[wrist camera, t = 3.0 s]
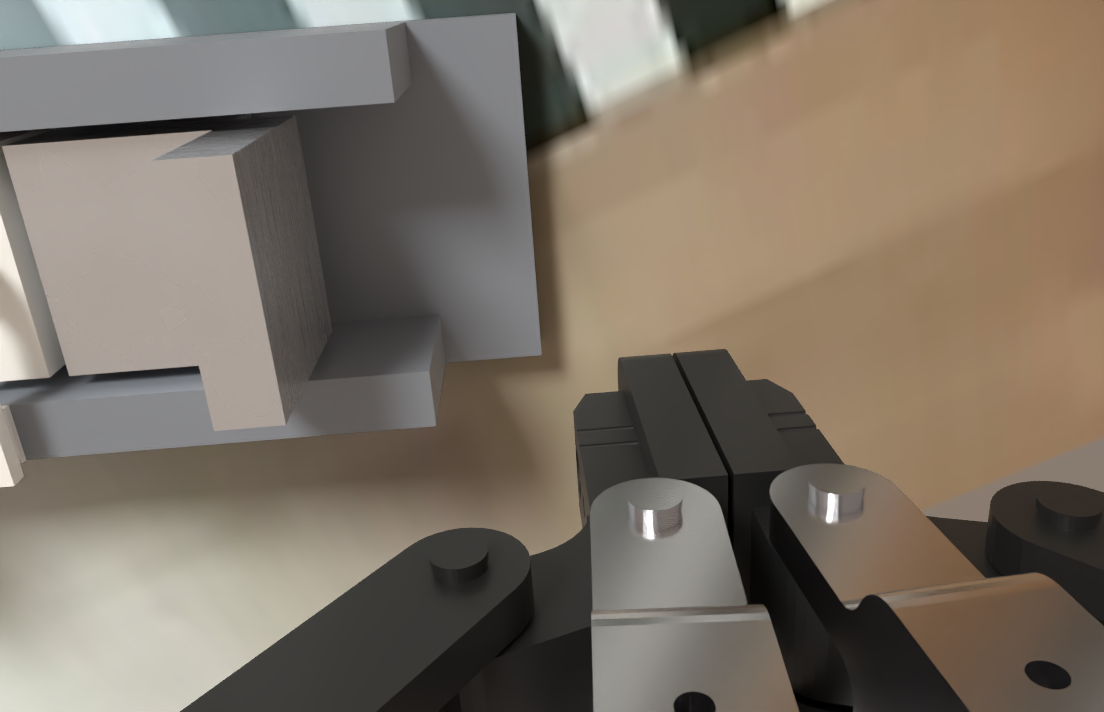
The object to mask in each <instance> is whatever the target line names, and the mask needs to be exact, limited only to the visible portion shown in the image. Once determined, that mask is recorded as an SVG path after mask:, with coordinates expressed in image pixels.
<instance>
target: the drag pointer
mask: <svg viewBox="0 0 1104 712" xmlns="http://www.w3.org/2000/svg"><path fill="white" fill-rule="evenodd" d="M50 130H51V128H47V129H34V130H21V131H7V132H0V382H1V381H14V380H26V379H39V378H50V377H51V376H52V375H54V374H55V373H56V372H57V371H58V370H59V369H61V368H62V367H63V366H64V365H65V360H64V357H63V353H62V350H61V346H60V343H59V340H58V336H57V333H56V329H55V326H54V323H53V319H52V316H51V312H50V309H49V306H48V302H47V299H46V295H45V292H44V289H43V285H42V282H41V278H40V275H39V271H38V268H37V265H36V261H35V258H34V254H33V251H32V248H31V244H30V241H29V237H28V234H27V231H26V227H25V224H24V220H23V217H22V213H21V210H20V207H19V203H18V200H17V196H16V193H15V190H14V186H13V183H12V179H11V176H10V173H9V169H8V166H7V162H6V159H5V155H4V152H3V149H2V146H3V145H7V144H10V143H13V142H16V141H19V140H22V139H25V138H28V137H32V136H35V135H38V134H41V133H44V132H47V131H50ZM23 477H24V475H23V471H22V468H21V465H20V462H19V459H18V456H17V453H16V450H15V447H14V444H13V441H12V438H11V435H10V432H9V429H8V426H7V423H6V420H5V417H4V414H3V411H2V408H1V405H0V487H10V486H15V485H16V484H17V483H18V482H19V481H20V480H21V479H22V478H23Z"/></svg>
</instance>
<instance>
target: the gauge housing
mask: <svg viewBox="0 0 1104 712" xmlns="http://www.w3.org/2000/svg"><path fill="white" fill-rule="evenodd" d="M248 113H251V115H252V118H260V117H273V116H287V115H296V119H297V124H298V130H299V136H300V142H301V148H302V154H303V160H304V166H305V172H306V177H307V183H308V189H309V195H310V201H311V207H312V213H313V219H314V225H315V231H316V236H317V242H318V248H319V254H320V260H321V266H322V272H323V278H324V284H325V290H326V295H327V301H328V307H329V313H330V319H331V325H332V333H331V335H330V337H329V339H328V341H327V343H326V345H325V347H324V349H323V351H322V353H321V355H320V357H319V359H318V361H317V363H316V365H315V367H314V369H313V371H312V373H311V375H310V377H309V379H308V381H307V383H306V385H305V387H304V389H303V391H302V393H301V395H300V398H299V400H298V402H297V404H296V406H295V408H294V410H293V412H292V414H291V416H290V418H289V420H288V422H287V424H286V425H281V426H269V427H256V428H244V429H232V430H220V431H214V429H213V425H212V420H211V416H210V412H209V408H208V403H207V399H206V395H205V390H204V386H203V382H202V377H201V373H200V369H199V366H188V367H176V368H163V369H151V370H138V371H126V372H113V373H101V374H89V375H76V376H69V374H68V370H67V367H66V364H65V365H64V366H63V367H62V368H61V369H59V370H58V371H57V372H56V373H55V374H54V375H52V376H51V377H50V378H39V379H26V380H14V381H1V382H0V405H1V408H2V411H3V414H4V417H5V420H6V423H7V426H8V429H9V432H10V435H11V438H12V441H13V444H14V447H15V450H16V453H17V456H18V459H19V462H20V464H23V463H24V462H25V461H26V460H31V459H43V458H55V457H67V456H79V455H91V454H104V453H116V452H128V451H140V450H152V449H165V448H177V447H189V446H201V445H213V444H225V443H238V442H250V441H262V440H274V439H286V438H298V437H311V436H323V435H335V434H347V433H359V432H371V431H384V430H396V429H408V428H420V427H432V426H436V424H437V418H438V411H439V405H440V398H441V391H442V385H443V378H444V372H445V365H446V363H451V362H463V361H475V360H488V359H500V358H513V357H525V356H537V355H542V352H541V339H540V326H539V313H538V299H537V286H536V273H535V260H534V247H533V234H532V221H531V208H530V195H529V182H528V169H527V156H526V143H525V130H524V117H523V104H522V91H521V78H520V65H519V52H518V39H517V26H516V14H515V13H506V14H492V15H478V16H465V17H451V18H437V19H423V20H410V21H396V22H382V23H369V24H355V25H341V26H327V27H314V28H300V29H286V30H272V31H259V32H245V33H231V34H218V35H204V36H190V37H176V38H163V39H149V40H135V41H121V42H108V43H94V44H80V45H67V46H53V47H39V48H25V49H12V50H0V132H7V131H21V130H34V129H47V128H51V130H53V129H56V128H61V127H74V126H88V125H101V124H114V123H128V122H141V121H154V120H168V119H181V118H195V117H208V116H221V115H235V114H248Z"/></svg>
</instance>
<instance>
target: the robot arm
mask: <svg viewBox="0 0 1104 712" xmlns="http://www.w3.org/2000/svg"><path fill="white" fill-rule="evenodd" d="M573 413H574V429H575V445H576V460H577V476H578V492H579V507H580V513H581V520H582V527H583V529H582V530H581V531H580V532H579V533H578V534H577V535H576V536H574V537H573V538H572V539H570V540H569V541H567V542H565V543H564V544H562V545H560V546H557V547H555V548H553V549H550V550H547V551H545V552H542V553H538V554H535V555H532V556H529V552H528V551H527V549H526V547H525V546H524V545H523V544H522V543H521V542H520V541H519V540H517V539H516V538H514V537H513V536H511V535H508V534H506V533H504V532H500V531H496V530H492V529H485V528H460V529H453V530H448V531H444V532H440V533H436V534H434V535H431V536H428V537H426V538H424V539H421V540H419V541H417V542H416V543H414V544H413V545H411V546H409V547H408V548H407V549H405V550H404V551H402V552H401V553H400V554H398V555H397V556H395V557H394V558H393V559H391V560H390V561H388V562H387V563H386V564H384V565H383V566H382V567H380V568H379V569H377V570H376V571H375V572H373V573H372V574H370V575H369V576H368V577H366V578H365V579H363V580H362V581H361V582H359V583H358V584H357V585H355V586H354V587H352V588H351V589H350V590H348V591H347V592H345V593H344V594H343V595H341V596H340V597H338V598H337V599H336V600H334V601H333V602H332V603H330V604H329V605H327V606H326V607H325V608H323V609H322V610H320V611H319V612H318V613H316V614H315V615H314V616H312V617H311V618H309V619H308V620H307V621H305V622H304V623H302V624H301V625H300V626H298V627H297V628H295V629H294V630H293V631H291V632H290V633H289V634H287V635H286V636H284V637H283V638H282V639H280V640H279V641H277V642H276V643H275V644H273V645H272V646H270V647H269V648H268V649H266V650H265V651H264V652H262V653H261V654H259V655H258V656H257V657H255V658H254V659H252V660H251V661H250V662H248V663H247V664H245V665H244V666H243V667H241V668H240V669H239V670H237V671H236V672H234V673H233V674H232V675H230V676H229V677H227V678H226V679H225V680H223V681H222V682H220V683H219V684H218V685H216V686H215V687H214V688H212V689H211V690H209V691H208V692H207V693H205V694H204V695H202V696H201V697H200V698H198V699H197V700H196V701H194V702H193V703H191V704H190V705H189V706H187V707H186V708H184V709H183V710H182V711H180V712H1104V493H1103V492H1100V491H1097V490H1094V489H1090V488H1087V487H1083V486H1079V485H1073V484H1069V483H1062V482H1051V481H1030V482H1021V483H1017V484H1013V485H1010V486H1007V487H1004V488H1003V489H1001V490H999V491H998V492H997V493H996V494H995V495H994V496H993V497H992V500H991V504H990V510H989V518H988V522H978V521H968V520H958V519H947V518H938V517H930V516H925V515H924V514H923V512H922V511H921V510H920V509H919V508H918V507H917V506H916V505H915V504H914V503H913V502H912V501H911V500H910V499H909V498H908V497H907V496H906V495H905V494H904V493H903V492H902V491H901V490H900V489H899V488H898V487H897V486H896V485H895V484H894V483H893V482H892V481H890V480H888V479H887V478H885V477H883V476H881V475H879V474H877V473H875V472H872V471H869V470H866V469H863V468H859V467H855V466H850V465H844V463H843V462H842V460H841V459H840V458H839V456H838V455H837V454H836V452H835V451H834V449H833V448H832V447H831V445H830V444H829V443H828V441H827V440H826V438H825V437H824V436H823V434H822V433H821V432H820V430H819V429H816V425H815V423H814V422H813V421H812V419H811V418H810V416H809V415H808V414H806V413H805V410H804V408H803V407H802V405H801V404H800V403H799V401H798V400H797V399H796V397H795V396H794V395H793V393H791V392H789V391H788V390H786V389H784V388H782V387H780V386H778V385H777V384H775V383H773V382H771V381H769V380H767V379H762V380H749V381H746V380H745V378H744V376H743V375H742V373H741V372H740V370H739V369H738V367H737V365H736V364H735V362H734V361H733V359H732V357H731V356H730V354H729V353H728V351H727V350H726V349H718V350H706V351H694V352H681V353H674V354H673V356H672V355H671V354H658V355H646V356H634V357H621V358H619V359H618V391H617V392H605V393H592V394H585V396H584V397H583V398H582V400H581V401H580V403H579V404H578V406H577V407H576V408H575V410H574V411H573Z"/></svg>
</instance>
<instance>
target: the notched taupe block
mask: <svg viewBox="0 0 1104 712" xmlns="http://www.w3.org/2000/svg"><path fill="white" fill-rule="evenodd" d="M2 149H3V152H4V155H5V159H6V162H7V166H8V169H9V173H10V176H11V179H12V183H13V186H14V190H15V193H16V196H17V200H18V203H19V207H20V210H21V213H22V217H23V220H24V224H25V227H26V231H27V234H28V237H29V241H30V244H31V248H32V251H33V254H34V258H35V261H36V265H37V268H38V271H39V275H40V278H41V282H42V285H43V289H44V292H45V295H46V299H47V302H48V306H49V309H50V312H51V316H52V319H53V323H54V326H55V329H56V333H57V336H58V340H59V343H60V346H61V350H62V353H63V357H64V360H65V364H66V367H67V370H68V374H69V376H76V375H89V374H101V373H113V372H126V371H138V370H151V369H163V368H176V367H188V366H199V369H200V373H201V377H202V382H203V386H204V390H205V395H206V399H207V403H208V408H209V412H210V416H211V420H212V425H213V429H214V431H220V430H232V429H244V428H256V427H269V426H281V425H286V424H287V422H288V420H289V418H290V416H291V414H292V412H293V410H294V408H295V406H296V404H297V402H298V400H299V398H300V395H301V393H302V391H303V389H304V387H305V385H306V383H307V381H308V379H309V377H310V375H311V373H312V371H313V369H314V367H315V365H316V363H317V361H318V359H319V357H320V355H321V353H322V351H323V349H324V347H325V345H326V343H327V341H328V339H329V337H330V335H331V333H332V325H331V319H330V313H329V307H328V301H327V295H326V290H325V284H324V278H323V272H322V266H321V260H320V254H319V248H318V242H317V236H316V231H315V225H314V219H313V213H312V207H311V201H310V195H309V189H308V183H307V177H306V172H305V166H304V160H303V154H302V148H301V142H300V136H299V130H298V124H297V119H296V115H287V116H273V117H260V118H252V115H251V113H248V114H235V115H221V116H208V117H195V118H181V119H168V120H154V121H141V122H128V123H114V124H101V125H88V126H74V127H61V128H56V129H53V130H50V131H47V132H44V133H41V134H38V135H35V136H32V137H28V138H25V139H22V140H19V141H16V142H13V143H10V144H7V145H3V146H2Z"/></svg>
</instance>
